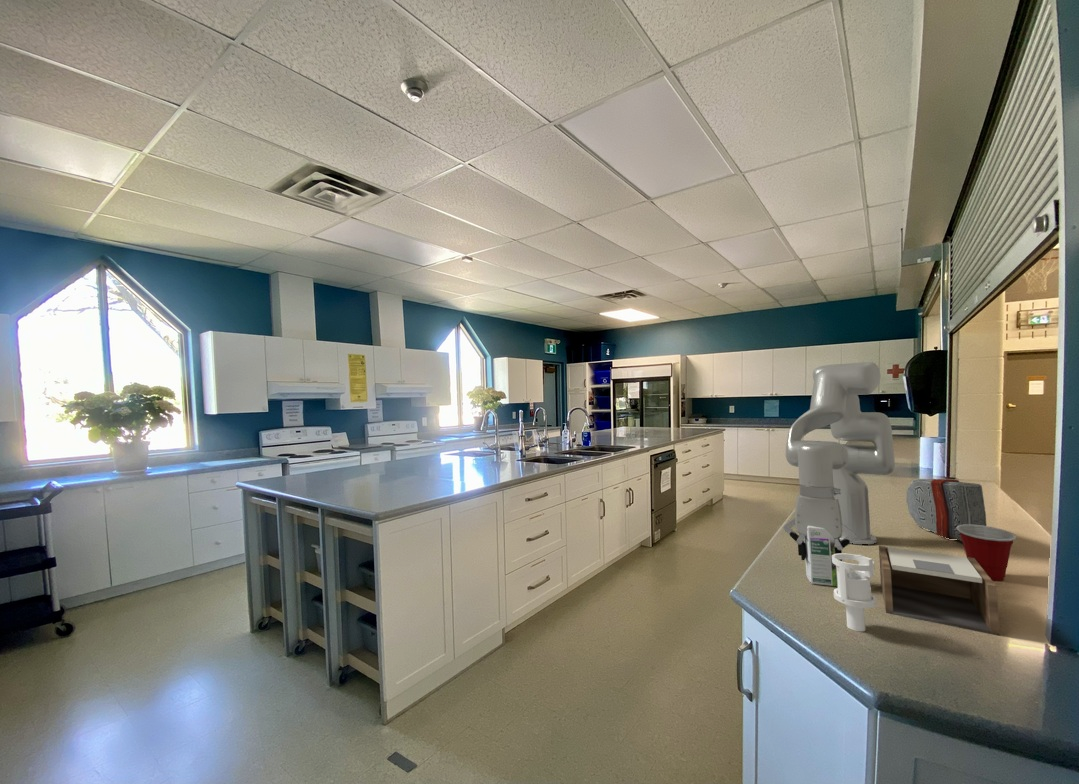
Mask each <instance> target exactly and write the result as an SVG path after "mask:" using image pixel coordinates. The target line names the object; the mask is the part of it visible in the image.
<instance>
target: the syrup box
mask: <svg viewBox="0 0 1079 784" xmlns="http://www.w3.org/2000/svg"><path fill="white" fill-rule="evenodd" d="M804 543H805V556H806V557H805V560H804V561H805V572H806V573H805V574H806V577H807V579H808V581H809V582H811V583H810V584H811V585H822V586H829V587H838V583H837V566H836V565H835V564H833V563H832V555H833V554H835V541H834V538H833V537H832V536H831V534H830V533H829V532H828V531H827V530H826V529H824V528H819V527H813V526H808V527H807V535H806V536H805V538H804Z"/></svg>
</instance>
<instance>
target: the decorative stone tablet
mask: <svg viewBox="0 0 1079 784" xmlns="http://www.w3.org/2000/svg"><path fill="white" fill-rule="evenodd" d="M982 486H983V485H982V484H980V483H975V482H974V483H973V482H964V481H959V480H958V479H951V478H918V479H917V478H915V479H912V481H911V482H909V485H908V487H907V489H906V505H907V506H906V507H907V510H908V514H909V515H910V517H911V518H912V520H913V522H914V523H915V524H916V526H918V525H919V527H920V526H921V527H923V528H925V529H928V530H930V531H933V532H935V533H934V534H936V533H937V535H938V536H939V535H940V536H943V537H946V538H949V539H957V540H960V541H959V542H962V539H961V536H960V533H959V531H958V530H957V529H956V527H957V526H959V525H982V526H988V525H987V514H986V507H985V498H984V491H983V487H982ZM921 527H920V528H921ZM923 528H922V529H923ZM940 536H939V537H940Z"/></svg>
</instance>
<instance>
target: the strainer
mask: <svg viewBox="0 0 1079 784" xmlns="http://www.w3.org/2000/svg"><path fill="white" fill-rule="evenodd" d="M840 559H842V561H840ZM843 560H848V561H857V562H858V564H857V563H850V562H845V561H843ZM832 563H833V564H835V565H837V566H836V576H837V588H834V589H833V598H834V600H836V601H838V602H839V603H841V604H844V605H845V613H846V615H845V616H846V627H847V628H848V629H850V630H852V631H854V632H861V633H862V632H865V631H866V617H865V616H866V614H865V609H872V608H873V609H874V608H875V607H877V598H876V596H874V595H873V594H872V588H871V587H872V586H871V579H870V578H873V577H874V570H875V561H874V560H873V558H872V557H871V558H870V557H867V556H864V555H863V554H854V553H845V552H844V553H843V552H842V553H838V554H833V555H832Z"/></svg>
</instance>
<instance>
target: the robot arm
mask: <svg viewBox="0 0 1079 784" xmlns="http://www.w3.org/2000/svg"><path fill="white" fill-rule="evenodd" d="M812 379H813V387H812V391H811V399H810V406H809V409H808V410H807V411H806V412H803V414H802V415H800V416H799V417H798V418H797V419H796V420H795V421H794V422H793V423H792V425H791V426H790V427H789V430H788V434H787V439H786V444H785V458H786V461H787V463H789V465H790V466H793V467H797V468H798V484H799V488H798V489H799V494H797V495H796V499H795V511H794V515H795V516H794V518H793V519H791V520H790V521H788V522H787V523H786V524H784V525H783V526H782V528H783V530H784V531H785V533H787V534H788V535H789V536H790V537H791V538H792V539H793V540H794V542H795V543H796V544H797V548H798V556H800V558H801V561H805V557H806V556H805V543H804V538H805V536H806V535H807V527H808V526H813V527H819V528H824V529H826V530H827V531H828V532H829V533H830V534H831V536H832V537H833V538H834V541H835V554H838V553H843V551H842V550H843V549H844V548H846V547H847V546H849V545H850V544H852V543H853V544H852V545H862V544H868V545H874V543H875V544H876V543H878V538H877V537H876V536H875V535H872V534H871V520H870V518H871V517H870V502H869V488H868V484H867V483H866V482H865V481H864V479H862V477H861V476H859V474H863V475H864V474H865V475H875V476H876V475H877V476H878V475H879V476H881V475H882V476H888V475H891V474H892V473H893V472H894V470H895V463H896V462H895V453H894V452H895V451H894V437H893V430H892V423H891V420H890V418H889V417H888V415H886V414H885V413H882V412H879V411H878V412H876V411H874V412H873V411H871V412H866V411H865V412H862V411H861V405H860V398H859V395H861V396H862V395H864V396H865V395H870V394H872V393H873V392H874V391H875V390H876V389H877V388H878V387H879V385H880V382H881V370H880V368H879V366H878V365H877V364H876V363H875V362H873V361H865V362H850V363H837V364H836V363H835V364H834V363H833V364H826V365H821V366H818V367H816V368H814V369H813V372H812ZM827 426H829V427H830V431H831V435H832V437H833V438H834V439H835V440H838V441H843V442H864V443H865V442H866V443H868V442H869V443H872V444H860V443H859V444H857V443H840V442H837V441H828V440H827V441H823V440H804V439H803V438H804V437H805V436H806V435H808V434H809V433H811V432H812V431H816V430H819V429H820V428H824V427H827ZM802 439H803V440H802ZM793 527H795V531H796V532H795V531H794V530H793V529H792V528H793ZM797 533H798V534H797ZM840 561H842V562H843V559H840ZM836 567H837V565H836Z"/></svg>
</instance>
